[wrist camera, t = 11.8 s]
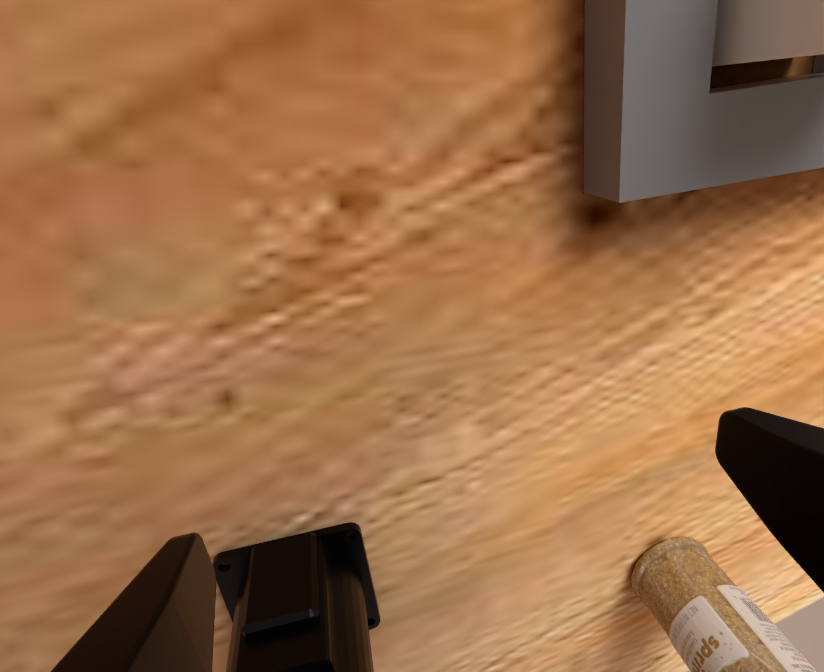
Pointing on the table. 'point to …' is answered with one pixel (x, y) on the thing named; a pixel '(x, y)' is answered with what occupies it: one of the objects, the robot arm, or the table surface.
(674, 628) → the sprinkles bottle
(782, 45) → the plug
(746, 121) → the socket block
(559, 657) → the table surface
